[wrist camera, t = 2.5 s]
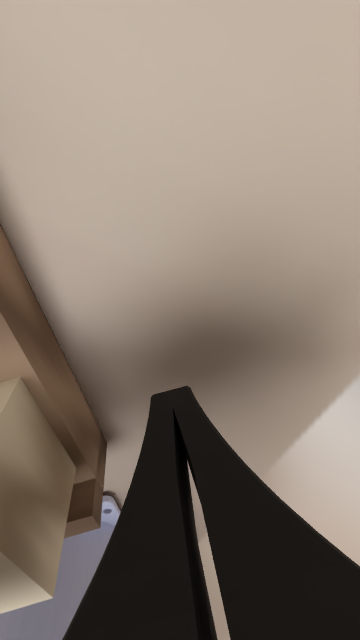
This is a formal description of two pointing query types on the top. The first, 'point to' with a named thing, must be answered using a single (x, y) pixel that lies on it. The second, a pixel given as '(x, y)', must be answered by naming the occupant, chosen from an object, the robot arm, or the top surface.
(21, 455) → the birch block
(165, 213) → the top surface
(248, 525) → the robot arm
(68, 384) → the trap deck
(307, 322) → the top surface
